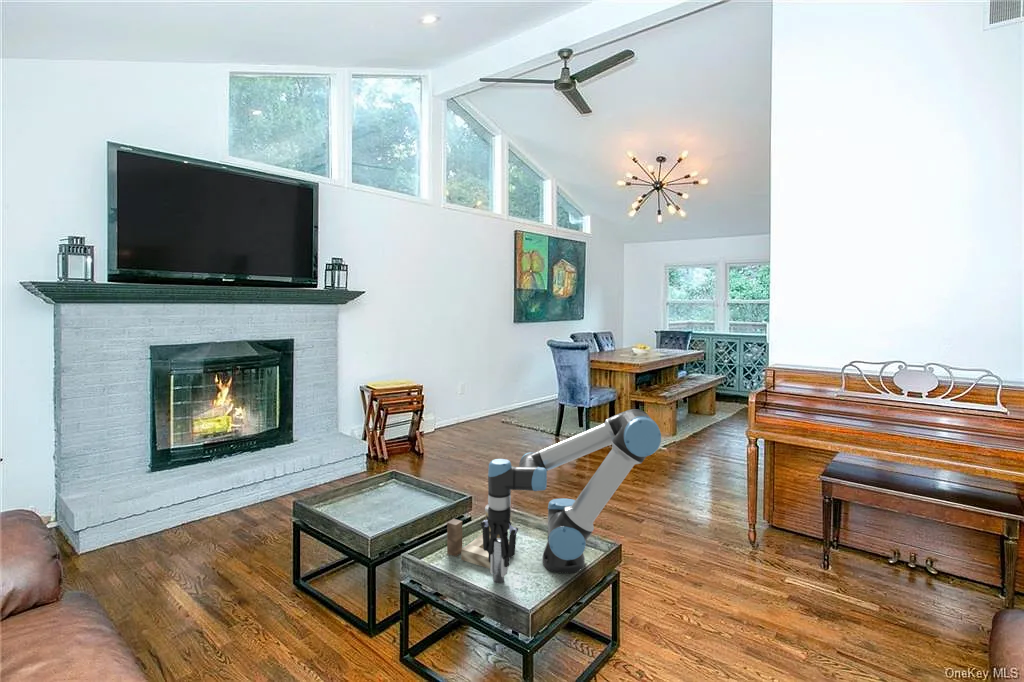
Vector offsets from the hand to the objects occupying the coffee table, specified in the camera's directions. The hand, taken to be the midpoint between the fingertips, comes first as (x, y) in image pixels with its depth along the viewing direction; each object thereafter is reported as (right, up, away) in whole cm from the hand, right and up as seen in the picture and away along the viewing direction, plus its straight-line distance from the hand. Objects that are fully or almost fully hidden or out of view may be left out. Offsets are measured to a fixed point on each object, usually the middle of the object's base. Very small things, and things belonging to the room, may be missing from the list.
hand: (498, 573), depth 177 cm
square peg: (-17, -1, +19) cm, 25 cm away
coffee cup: (-2, 0, +33) cm, 33 cm away
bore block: (-5, -1, +17) cm, 17 cm away
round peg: (0, -3, 0) cm, 3 cm away
